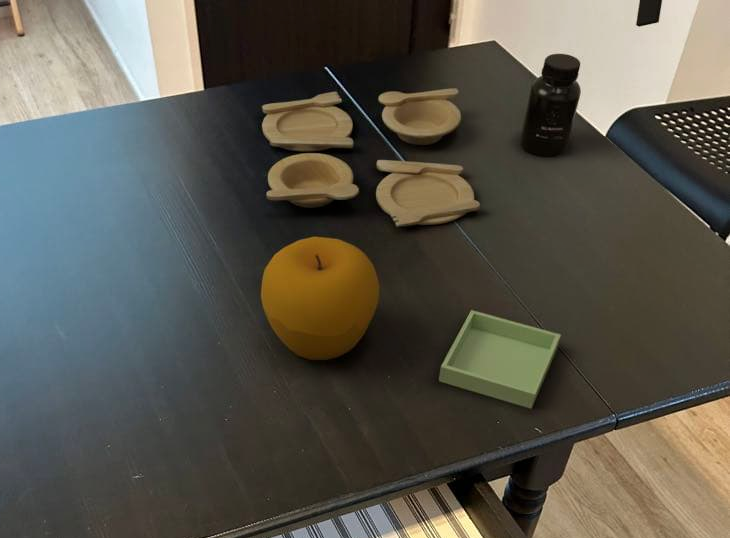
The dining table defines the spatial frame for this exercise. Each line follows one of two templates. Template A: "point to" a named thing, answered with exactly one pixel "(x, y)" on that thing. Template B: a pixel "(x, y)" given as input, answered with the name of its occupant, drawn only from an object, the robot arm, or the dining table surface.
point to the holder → (500, 358)
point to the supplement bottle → (551, 107)
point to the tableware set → (396, 191)
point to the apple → (320, 296)
